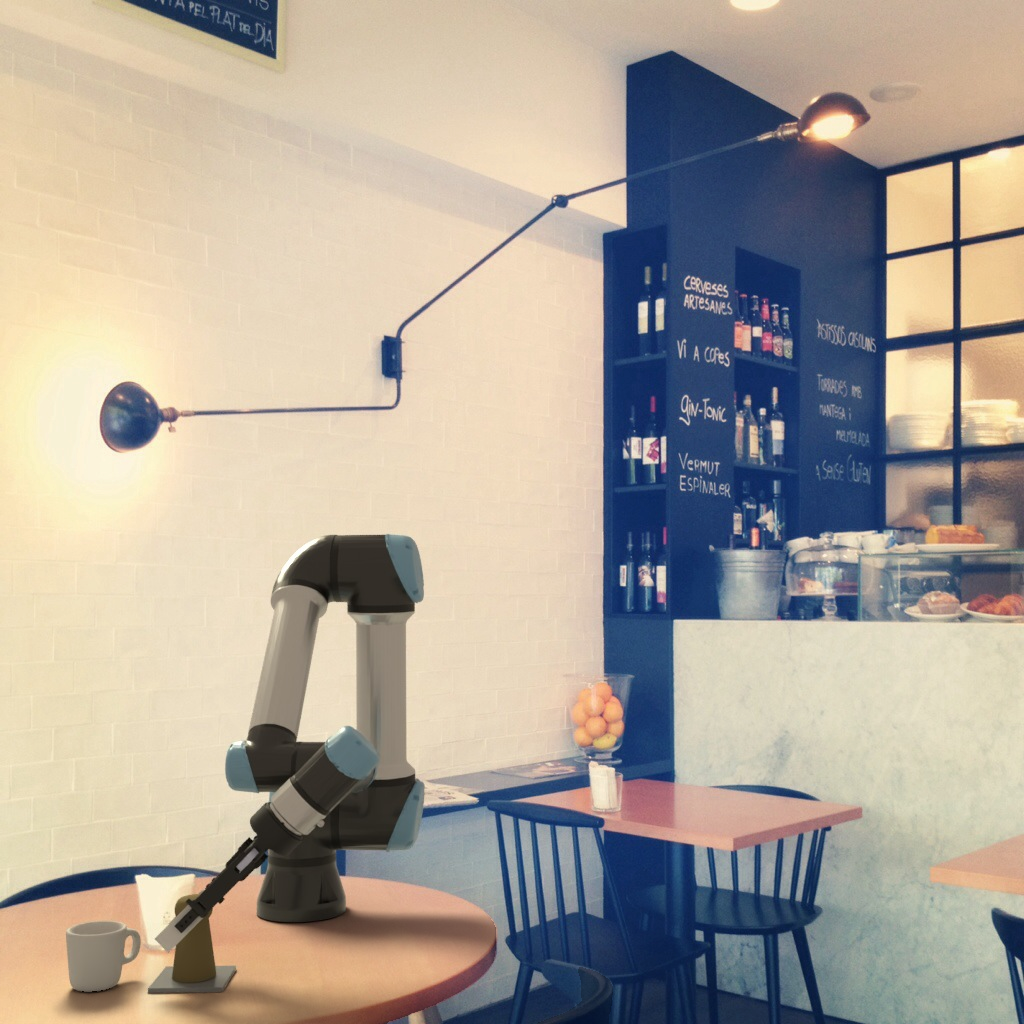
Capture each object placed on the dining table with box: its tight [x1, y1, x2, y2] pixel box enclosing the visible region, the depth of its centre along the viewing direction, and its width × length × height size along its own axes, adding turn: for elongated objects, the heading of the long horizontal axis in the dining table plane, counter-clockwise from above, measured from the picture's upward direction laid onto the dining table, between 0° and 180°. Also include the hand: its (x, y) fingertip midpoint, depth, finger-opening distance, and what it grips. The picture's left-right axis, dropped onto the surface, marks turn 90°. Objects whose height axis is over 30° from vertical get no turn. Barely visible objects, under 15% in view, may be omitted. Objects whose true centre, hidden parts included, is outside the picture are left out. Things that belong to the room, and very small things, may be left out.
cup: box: [65, 920, 141, 993], centre depth 167 cm, size 11×8×8 cm
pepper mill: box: [172, 893, 216, 983], centre depth 168 cm, size 6×6×11 cm
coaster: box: [147, 965, 237, 994], centre depth 168 cm, size 10×10×1 cm
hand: (169, 937), depth 168 cm, fingers open, 7 cm apart
